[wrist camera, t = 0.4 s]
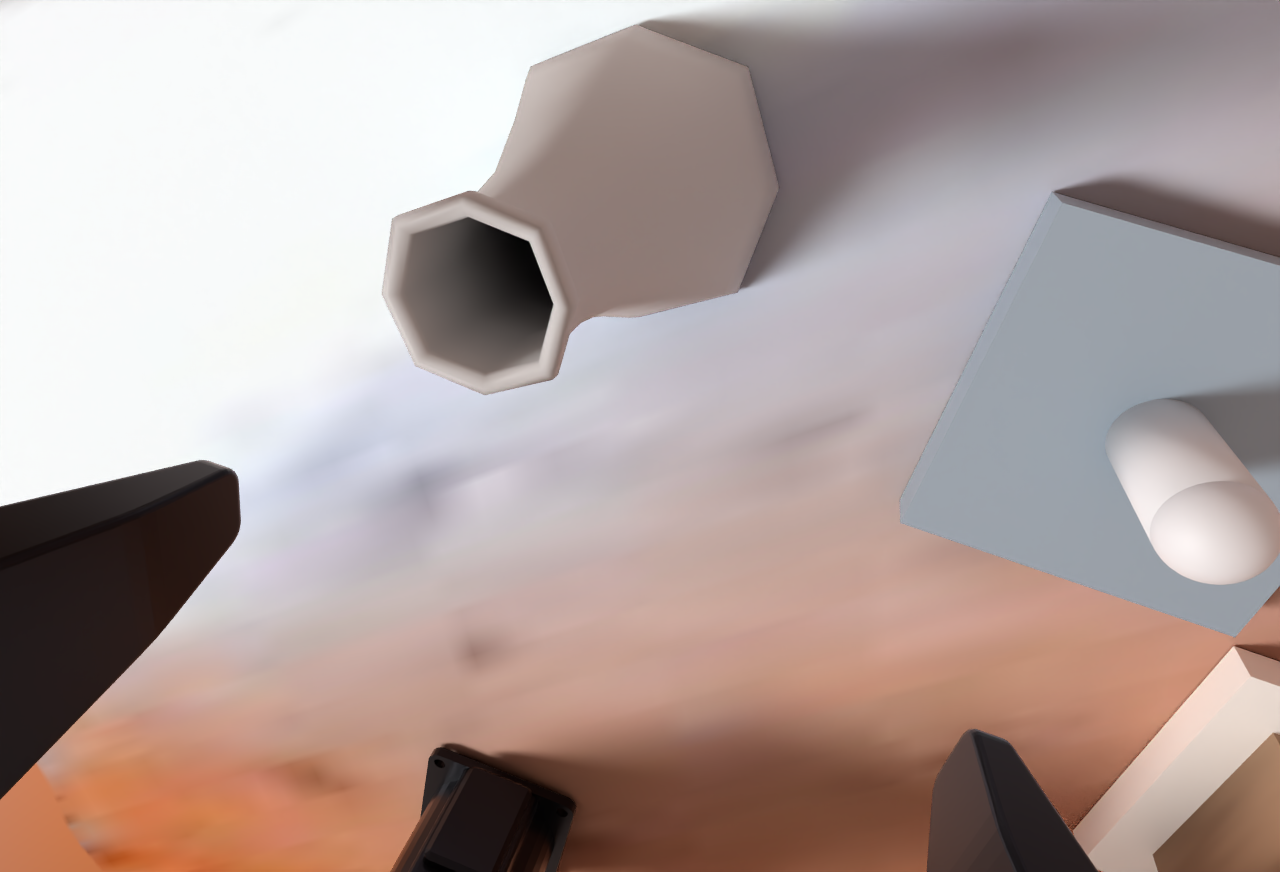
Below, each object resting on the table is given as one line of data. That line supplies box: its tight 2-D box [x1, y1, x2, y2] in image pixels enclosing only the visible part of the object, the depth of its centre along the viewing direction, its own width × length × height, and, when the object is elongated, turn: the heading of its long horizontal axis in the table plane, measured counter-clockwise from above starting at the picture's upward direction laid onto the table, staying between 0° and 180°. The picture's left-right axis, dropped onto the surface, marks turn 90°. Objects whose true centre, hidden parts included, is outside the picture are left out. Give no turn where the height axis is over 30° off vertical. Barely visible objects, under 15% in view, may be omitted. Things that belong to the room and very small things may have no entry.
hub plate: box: [900, 192, 1280, 637], centre depth 18 cm, size 9×9×6 cm
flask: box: [382, 25, 779, 395], centre depth 17 cm, size 7×7×10 cm
